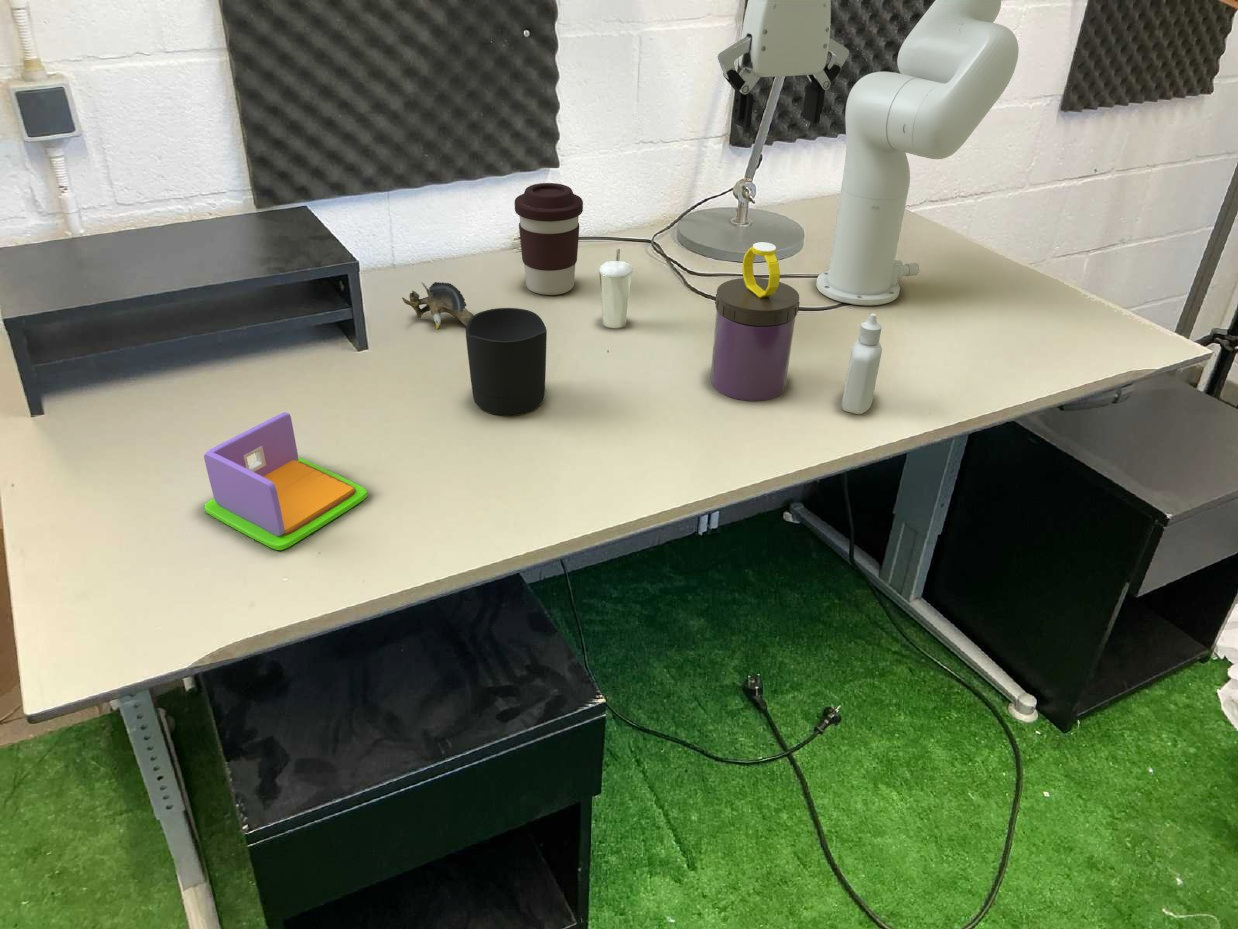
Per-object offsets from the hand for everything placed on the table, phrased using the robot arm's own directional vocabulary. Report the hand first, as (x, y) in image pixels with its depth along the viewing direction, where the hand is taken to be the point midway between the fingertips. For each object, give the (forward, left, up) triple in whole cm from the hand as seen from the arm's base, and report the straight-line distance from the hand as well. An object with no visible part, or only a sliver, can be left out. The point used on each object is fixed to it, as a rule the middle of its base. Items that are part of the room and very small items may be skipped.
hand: (776, 123), depth 120 cm
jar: (+8, +14, -28) cm, 33 cm away
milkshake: (+18, -8, -28) cm, 35 cm away
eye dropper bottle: (-2, +23, -28) cm, 37 cm away
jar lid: (+8, +14, -17) cm, 23 cm away
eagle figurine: (+41, -15, -28) cm, 52 cm away
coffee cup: (+23, -23, -28) cm, 43 cm away
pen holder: (+38, +9, -28) cm, 48 cm away
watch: (+8, +14, -16) cm, 23 cm away
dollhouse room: (+65, +23, -28) cm, 75 cm away
